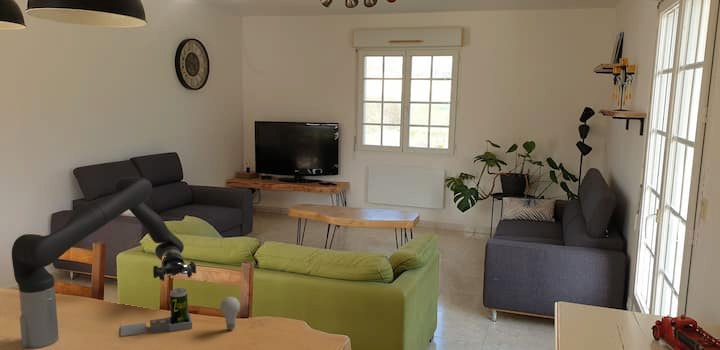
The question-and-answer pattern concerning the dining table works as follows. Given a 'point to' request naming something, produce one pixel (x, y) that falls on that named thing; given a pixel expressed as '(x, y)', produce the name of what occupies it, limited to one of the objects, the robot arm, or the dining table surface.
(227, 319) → the lightbulb
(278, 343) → the dining table surface
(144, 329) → the slate mat
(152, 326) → the grey button tray
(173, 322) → the beer can
